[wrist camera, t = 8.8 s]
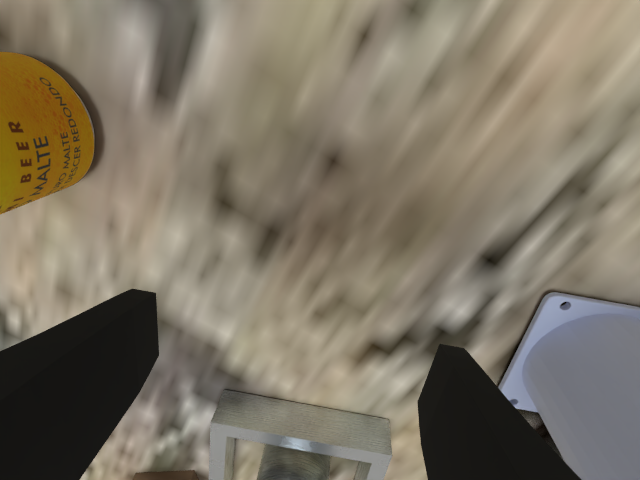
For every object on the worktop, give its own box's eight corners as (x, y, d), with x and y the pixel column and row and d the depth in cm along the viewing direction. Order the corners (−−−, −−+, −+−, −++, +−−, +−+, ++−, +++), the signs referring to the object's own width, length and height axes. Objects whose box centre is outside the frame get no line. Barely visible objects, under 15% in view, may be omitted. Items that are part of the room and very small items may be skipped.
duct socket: (388, 419, 24) (392, 455, 22) (354, 518, 29) (354, 556, 27) (224, 389, 24) (210, 422, 22) (218, 493, 29) (207, 529, 27)
